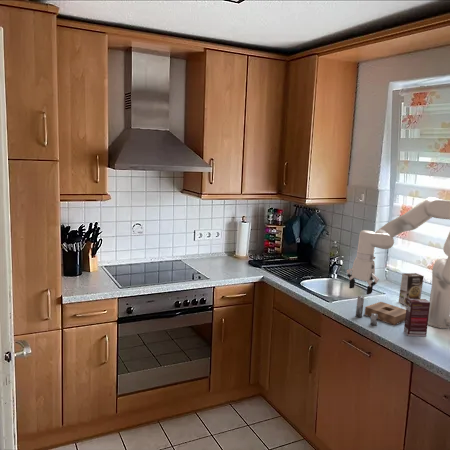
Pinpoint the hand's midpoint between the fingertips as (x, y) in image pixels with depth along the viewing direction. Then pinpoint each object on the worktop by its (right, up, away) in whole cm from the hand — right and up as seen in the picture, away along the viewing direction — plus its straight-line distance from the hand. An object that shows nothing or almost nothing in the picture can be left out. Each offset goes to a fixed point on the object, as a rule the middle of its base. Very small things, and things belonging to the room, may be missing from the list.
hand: (360, 290), depth 225 cm
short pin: (+4, -15, -7) cm, 17 cm away
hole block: (+14, -13, +4) cm, 20 cm away
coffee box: (+34, -11, +26) cm, 44 cm away
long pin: (0, -13, +2) cm, 13 cm away
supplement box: (+20, -17, -16) cm, 31 cm away
